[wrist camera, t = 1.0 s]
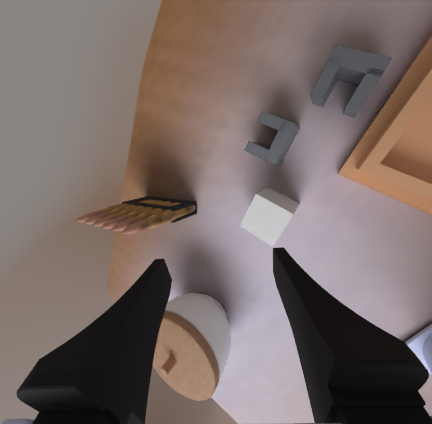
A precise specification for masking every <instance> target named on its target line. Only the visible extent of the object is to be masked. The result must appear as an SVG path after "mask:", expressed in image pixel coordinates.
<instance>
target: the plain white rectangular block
mask: <svg viewBox="0 0 432 424" xmlns="http://www.w3.org/2000/svg"><path fill="white" fill-rule="evenodd" d="M299 204H300V203H298V202H296V201H294V200H292V199H290V198H288V197H286V196H284V195H283V194H281V193H279V192H277V191H275V190H273V189H271V188H269V187H268V188H266V189H264V190H262V191H260V192H258V193H256V195H255V197H254V199H253V200H252V202H251V204H250V206H249V208H248V210H247V212H246V214H245V216H244V218H243V220H242V222H241V224H240V226H241V227H242V228H244V229H245V230H247V231H249V232H250V233H252V234H253V235H255V236H257V237H258V238H260V239H261V240H263V241H265V242H266V243H268V244H269V245H271V246H274V244H275V242H276V241H277V239H278V238H279V236H280V235H281V233H282V231H283V230H284V228H285V227H286V225H287V224H288V222H289V220H290V219H291V217H292V216H293V214H294V212H295V211H296V209H297V207H298V206H299Z"/></svg>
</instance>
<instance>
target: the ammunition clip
mask: <svg viewBox="0 0 432 424" xmlns="http://www.w3.org/2000/svg"><path fill="white" fill-rule="evenodd" d="M194 214H197V203H196V202H194V201H184V200H175V199H166V198H156V197H143V198H139V199H134V200H130V201H125V202H122V204H119V205H115V206H110V207H107V208H105V209H102V210H99V211H96V212H92V213H89V214H86V215H84V216H82V217H80V218H78V219H77V220H76V221H77V222H84V223H85V224H92V225H93V226H102V228H107V229H108V228H112V229H111V230H113V231H122V233H124V234H131V233H137V232H140V231H143V230H147V229H150V228H154V227H158V226H161V225H163V224H166V223H168V222H173V223H174V222H177V221H179V220H182V219H184V218H187V217H189V216H192V215H194Z"/></svg>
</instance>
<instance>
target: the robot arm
mask: <svg viewBox="0 0 432 424" xmlns="http://www.w3.org/2000/svg"><path fill="white" fill-rule="evenodd" d="M273 273H274V277H275V281H276V285H277V288H278V291H279V294H280V297H281V300H282V302H283V305H284V308H285V311H286V313H287V316H288V319H289V322H290V325H291V328H292V331H293V335H294V339H295V343H296V346H297V350H298V354H299V358H300V362H301V366H302V370H303V374H304V378H305V382H306V386H307V391H308V395H309V399H310V404H311V408H312V412H313V417H314V421H315V423H295V424H432V416H429V414H428V413H427V411H426V410H425V408H424V407H423V406H424V405H426V404H425V401H424V400H423V398H422V397H421V395H420V394H419V392H418V390H419V389H420V388H421V387H422V386H423V385H424V383H425V382H426V381H427V379H428V377H429V374H431V375H432V324H431V325H429V326H428V327H426V328H425V329H423V330H422V331H421V332H419V333H418V334H416V335H415V336H413V337H412V338H410V339H409V340H407V341H406V342H403V341H401V340H400V339H398V338H396V337H394V336H393V335H391V334H389V333H387V332H385V331H384V330H382V329H380V328H378V327H377V326H375V325H373V324H372V323H370V322H369V321H367V320H366V319H364V318H362V317H361V316H359V315H358V314H356V313H355V312H354V311H352V310H351V309H349V308H348V307H346V306H345V305H343V304H342V303H341V302H339V301H338V300H337V299H336V298H334V297H333V296H332V295H330V294H329V293H328V292H327V291H326V290H324V289H323V288H322V287H321V286H320V285H319V284H318V283H316V282H315V281H314V280H313V279H312V278H311V277H310V276H309V275H308V274H307V273H306V272H305V271H304V270H303V269H302V268H301V267H300V266H299V265H298V264H297V263H296V262H295V260H294V259H293V258H292V257H291V256H290V255H289V253H288V252H287V251H286V250H285V249H284V248H283V247H282V248H273ZM171 282H172V279H171V276H170V273H169V271H168V268H167V266H166V263H165V260H164V259H155V260H154V261H153V263H152V264H151V265H150V266H149V267H148V268H147V270H146V271H145V272H144V273H143V274H142V275H141V276H140V278H139V279H138V280H137V281H136V282H135V283H134V284H133V285H132V286H131V288H130V289H129V290H128V291H127V292H126V293H125V294H124V295H123V296H122V297H121V298H120V299H119V300H118V301H117V302H116V303H115V304H114V305H113V306H111V307H110V308H109V309H108V310H107V311H106V312H105V313H104V314H102V315H101V316H100V317H99V318H97V319H96V320H95V321H94V322H93V323H91V324H90V325H89V326H88V327H86V328H85V329H84V330H82V331H81V332H80V333H78V334H77V335H76V336H74V337H73V338H71V339H70V340H68V341H67V342H66V343H64V344H63V345H61V346H59V347H58V348H56V349H55V350H53V351H52V352H50V353H49V354H47V355H46V356H44V357H42V358H41V359H39V361H38V362H37V363H36V365H35V366H34V368H33V369H32V371H31V372H30V374H29V375H28V376H27V378H26V379H25V380H24V382H23V383H22V385H21V386H20V388H19V389H18V390H17V397H18V398H19V399H20V400H21V401H22V402H24V403H25V404H27V405H29V406H31V407H32V408H34V409H36V410H37V411H39V414H38V415H37V417H36V419H35V420H30V419H6V420H4V421H3V422H2V424H145V415H146V406H147V399H148V390H149V384H150V377H151V371H152V365H153V359H154V353H155V348H156V343H157V338H158V334H159V330H160V326H161V323H162V319H163V316H164V312H165V309H166V305H167V302H168V298H169V295H170V289H171Z"/></svg>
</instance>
